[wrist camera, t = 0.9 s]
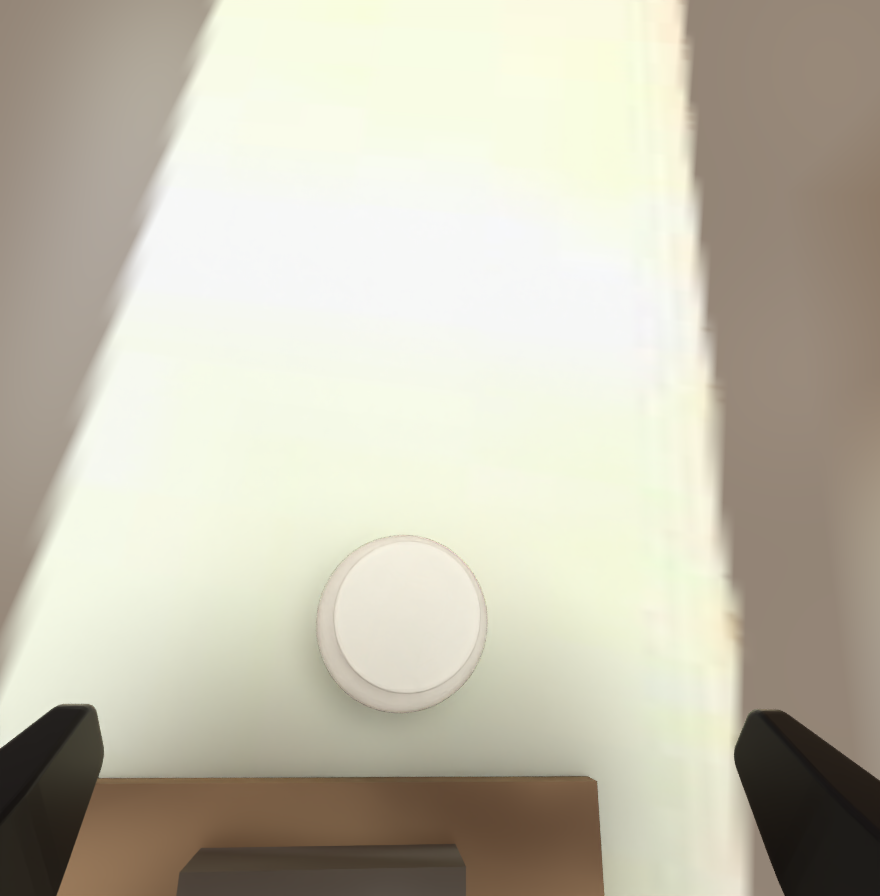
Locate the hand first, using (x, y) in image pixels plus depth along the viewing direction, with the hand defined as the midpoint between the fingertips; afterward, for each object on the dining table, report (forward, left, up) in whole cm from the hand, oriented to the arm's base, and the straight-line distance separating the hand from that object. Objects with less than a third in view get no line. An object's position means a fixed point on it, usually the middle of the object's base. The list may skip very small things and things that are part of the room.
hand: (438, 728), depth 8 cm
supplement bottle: (+2, 0, -17) cm, 17 cm away
